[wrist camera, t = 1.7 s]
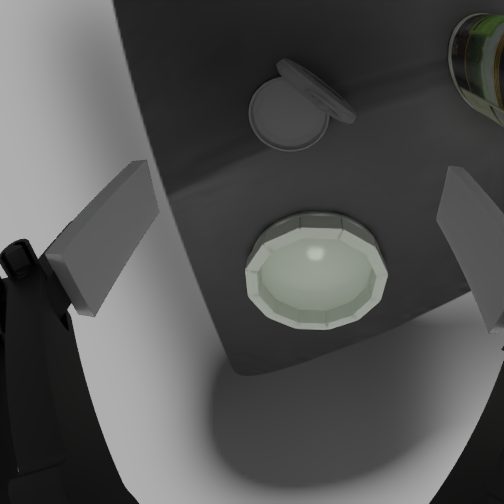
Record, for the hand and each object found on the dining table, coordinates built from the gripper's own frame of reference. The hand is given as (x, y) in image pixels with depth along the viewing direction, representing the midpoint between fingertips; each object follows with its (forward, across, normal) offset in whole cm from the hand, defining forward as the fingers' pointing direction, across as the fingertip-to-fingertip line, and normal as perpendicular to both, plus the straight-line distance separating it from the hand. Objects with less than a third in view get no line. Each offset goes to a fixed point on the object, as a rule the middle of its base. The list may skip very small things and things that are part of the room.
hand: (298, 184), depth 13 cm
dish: (+15, +2, -18) cm, 23 cm away
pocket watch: (+15, 0, 0) cm, 15 cm away
